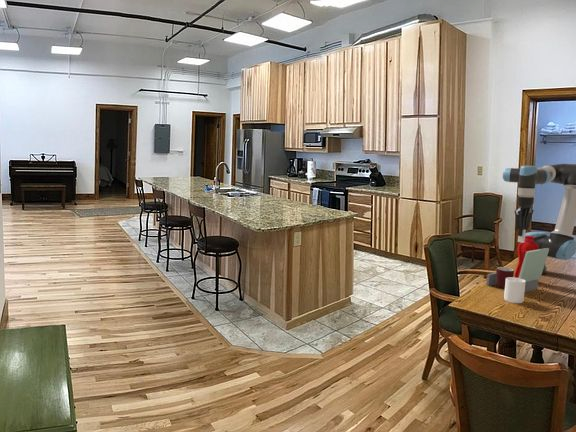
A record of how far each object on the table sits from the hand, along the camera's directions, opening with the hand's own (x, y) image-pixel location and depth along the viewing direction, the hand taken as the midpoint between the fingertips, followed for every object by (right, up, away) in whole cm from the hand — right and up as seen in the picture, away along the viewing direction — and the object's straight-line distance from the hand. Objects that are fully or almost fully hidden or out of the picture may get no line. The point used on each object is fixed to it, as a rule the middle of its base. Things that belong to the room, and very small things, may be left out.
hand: (521, 242), depth 229 cm
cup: (-13, -26, -17) cm, 34 cm away
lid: (+1, -11, -9) cm, 14 cm away
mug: (-8, -24, -1) cm, 25 cm away
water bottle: (+8, -22, +14) cm, 27 cm away
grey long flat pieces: (-4, -23, +1) cm, 24 cm away
